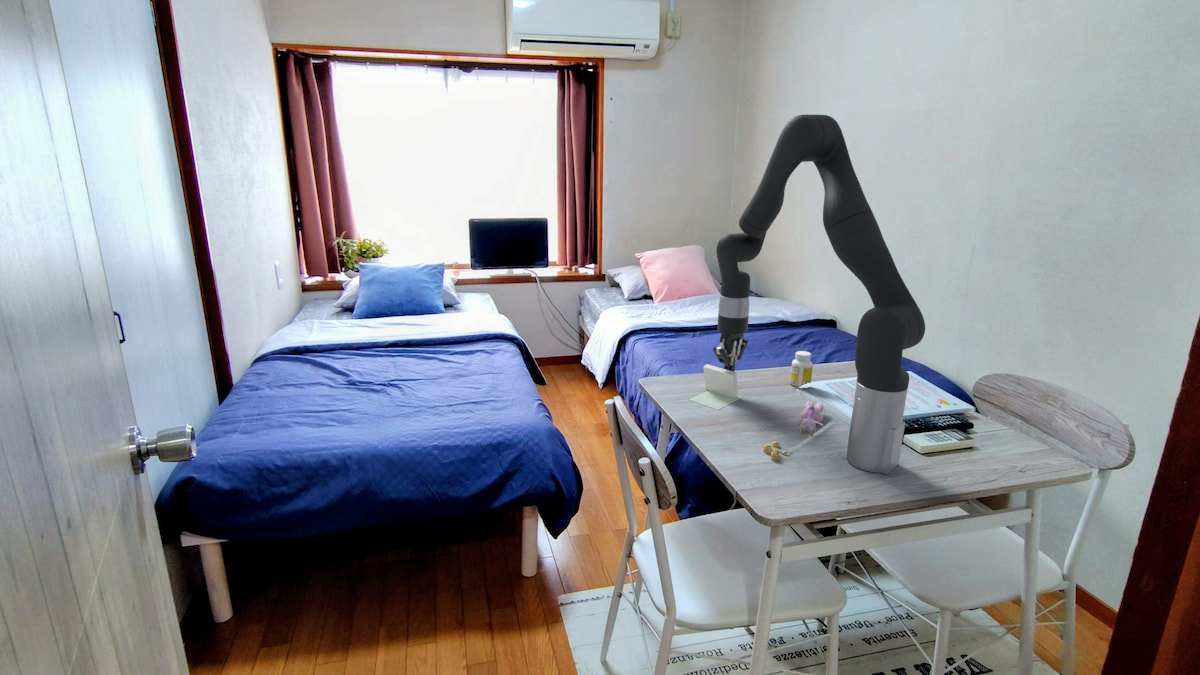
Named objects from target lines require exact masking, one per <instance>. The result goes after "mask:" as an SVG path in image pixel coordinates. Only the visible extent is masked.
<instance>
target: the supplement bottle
mask: <svg viewBox="0 0 1200 675" xmlns="http://www.w3.org/2000/svg"><path fill="white" fill-rule="evenodd" d="M794 355H795V356H794V357H795V359H792V361H791V369H790V370H791V371H790V379H789V386H790V387H792V388H795V389H798V388H799V387H800V386H802V385H804V384H807V383H811V384H812V377H813V376H812V375H813V367H814V366H813V365H814V364H813V362H812V361H811V360H812V353H811V352H809V351H805V350H798V351H796V352H795V354H794ZM798 390H799V389H798Z"/></svg>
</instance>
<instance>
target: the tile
mask: <svg viewBox="0 0 1200 675" xmlns="http://www.w3.org/2000/svg"><path fill="white" fill-rule="evenodd" d="M702 367H703V375H704V376H703V377H704V386H705V390H706V391H708V390H710V391H713V392H716V393H720V394H723V395H726V396H729V397H732V398H736V397H737V396H739V388H738V386H739V385H738V378H737V377H738V376H737V372H736V371H735V372H733V371H729V370H726V369H724V368H723V367H722V368H721V367H718V366H715V365H711V364H708V363H706V364H705V365H704V366H702Z"/></svg>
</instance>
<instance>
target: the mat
mask: <svg viewBox="0 0 1200 675" xmlns="http://www.w3.org/2000/svg"><path fill="white" fill-rule="evenodd" d="M742 398H743V397H742V396H740V395H738V396H737V397H736V398H732V397H729V396H726V395H723V394H720V393H716V392H713V391H710V390H705V391H704V392H702V393H700V394H697V395H695V396H692V397H691V398H688V401H691V402H693V403H697V404H699V405H702V406H706V407H709V408H711V409H714V410H717V411H719V410H721V409H723V408H725V407H727V406H729V405H731V404H732V403H734V402H737V401H739V400H740V399H742Z"/></svg>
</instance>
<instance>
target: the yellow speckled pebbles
mask: <svg viewBox="0 0 1200 675" xmlns="http://www.w3.org/2000/svg"><path fill="white" fill-rule="evenodd" d="M779 447H780V442H779V441H775V440H774V441H772V444H770V445H769V444H764V445H763V453H764V454H770V460H771V461H775V462H776V461H778V460H779V456H780V454H783V456H786V457H788V456H789V453H790V452H789V451H786V452H784V453H783V452H781V451H780V449H779ZM772 448H773V449H772ZM771 449H772V450H771Z"/></svg>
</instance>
